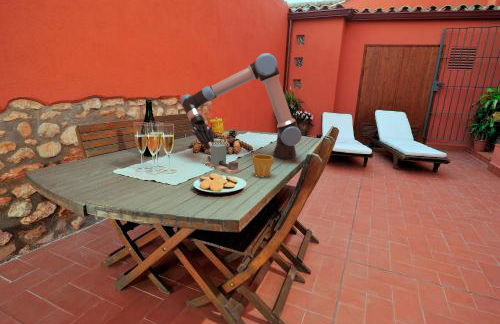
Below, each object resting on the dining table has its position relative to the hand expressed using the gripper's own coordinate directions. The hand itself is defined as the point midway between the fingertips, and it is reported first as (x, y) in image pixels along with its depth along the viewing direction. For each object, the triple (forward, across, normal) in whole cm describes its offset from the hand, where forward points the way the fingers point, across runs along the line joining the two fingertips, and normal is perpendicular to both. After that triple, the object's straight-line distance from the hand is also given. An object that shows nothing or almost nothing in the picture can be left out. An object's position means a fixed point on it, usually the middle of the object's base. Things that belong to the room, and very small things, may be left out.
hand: (213, 153), depth 154 cm
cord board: (+10, 0, 0) cm, 10 cm away
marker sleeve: (+6, 0, -1) cm, 6 cm away
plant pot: (+25, -8, +15) cm, 30 cm away
